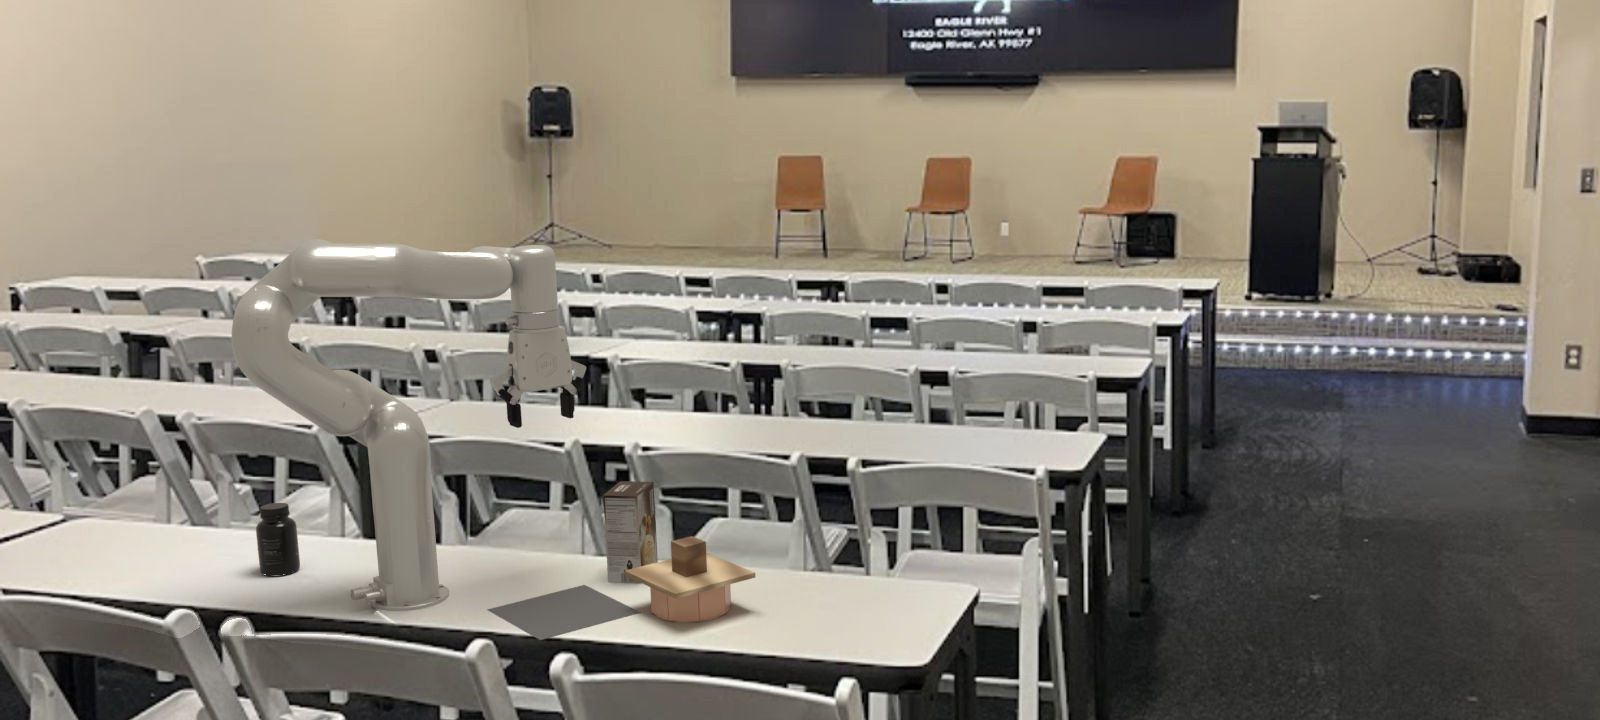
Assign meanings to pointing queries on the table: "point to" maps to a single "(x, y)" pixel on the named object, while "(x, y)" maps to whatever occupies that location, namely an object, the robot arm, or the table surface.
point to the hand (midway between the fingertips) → (541, 421)
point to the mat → (563, 612)
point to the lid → (689, 570)
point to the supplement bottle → (277, 540)
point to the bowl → (691, 605)
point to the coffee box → (629, 528)
